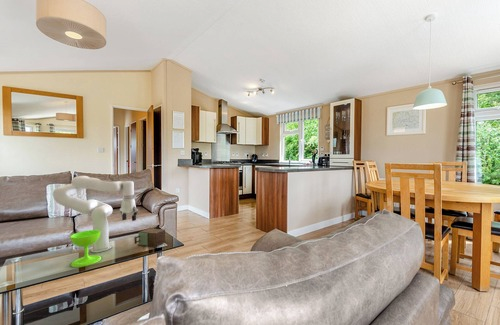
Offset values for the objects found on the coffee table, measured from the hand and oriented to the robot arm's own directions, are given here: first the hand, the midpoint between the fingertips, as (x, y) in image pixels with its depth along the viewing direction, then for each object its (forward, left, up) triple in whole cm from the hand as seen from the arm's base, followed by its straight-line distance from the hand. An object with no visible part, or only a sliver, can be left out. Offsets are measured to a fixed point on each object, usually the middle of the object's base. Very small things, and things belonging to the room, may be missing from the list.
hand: (129, 220), depth 170 cm
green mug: (+8, +2, -19) cm, 21 cm away
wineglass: (-7, -27, -20) cm, 35 cm away
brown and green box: (+12, +11, -20) cm, 26 cm away
